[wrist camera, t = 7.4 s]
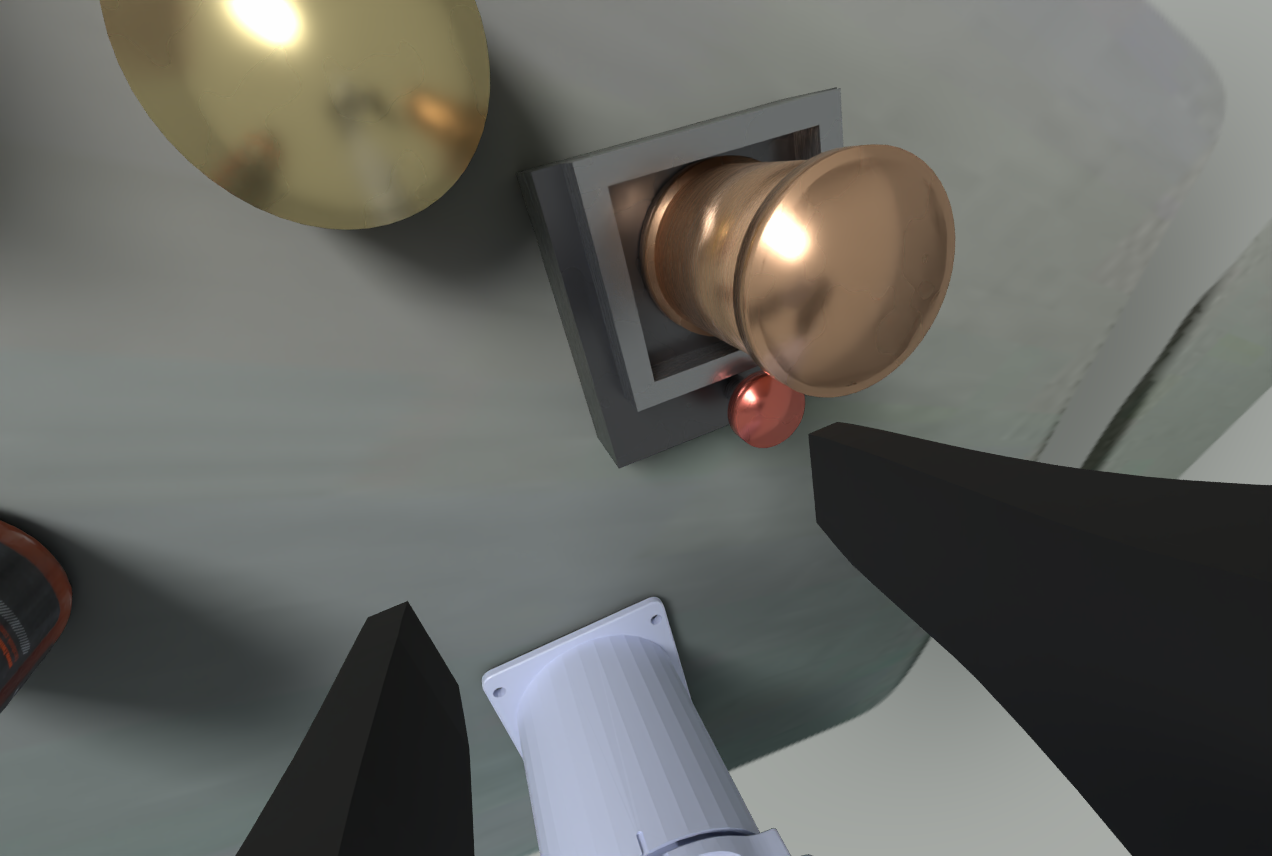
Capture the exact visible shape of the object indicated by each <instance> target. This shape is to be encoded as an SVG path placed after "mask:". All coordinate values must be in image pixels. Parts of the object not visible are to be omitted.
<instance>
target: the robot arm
mask: <svg viewBox="0 0 1272 856" xmlns="http://www.w3.org/2000/svg"><path fill="white" fill-rule="evenodd" d="M808 435H809V446H810V457H811V467H812V478H813V489H814V500H815V510H816V521H817V524H818V525H819V526H820V527H821V528H822V530H823V531H824V532H825V533H826V534H827V536H828V537H829V538H830V539H831V541H832V542H833V543H834V544H835V545H836V547H837V548H838V549H839V550H840V551H841V552H842V553H843V555H844V556H845V557H846V558H847V559H848V560H849V561H850V562H851V564H852V565H853V566H854V567H855V568H857V569H858V570H859V571H860V572H861V573H862V574H863V575H864V576H865V577H866V578H867V579H868V580H869V581H871V582H872V583H873V584H874V585H875V586H876V587H877V588H878V589H879V590H880V591H881V592H883V593H884V594H885V595H886V596H887V597H888V598H889V599H890V600H891V601H892V602H894V603H895V604H896V605H897V606H898V607H899V608H900V609H901V610H903V611H904V612H905V613H906V614H907V615H908V616H909V617H910V618H911V619H913V620H914V621H915V622H916V623H917V624H918V625H919V626H920V627H921V628H923V629H924V630H925V631H926V632H927V633H928V634H929V635H930V636H931V637H933V638H934V639H935V640H936V641H937V642H938V643H939V644H940V645H941V646H943V647H944V648H945V649H946V650H947V651H948V652H949V653H950V654H952V655H953V656H954V657H955V658H956V659H957V660H958V661H959V662H960V663H961V664H962V665H963V666H964V667H965V668H966V669H967V670H968V671H969V672H970V673H971V674H972V675H974V677H975V678H976V679H977V680H978V681H979V682H980V683H981V684H982V685H983V686H984V687H985V688H986V689H987V690H988V691H989V693H990V694H991V695H992V696H993V697H994V698H995V699H996V700H997V701H998V702H999V703H1000V704H1001V705H1002V707H1004V709H1005V710H1006V711H1007V712H1008V713H1009V714H1010V715H1011V716H1012V717H1013V718H1014V719H1015V720H1016V722H1017V723H1018V724H1019V725H1020V726H1021V727H1022V728H1023V729H1024V730H1025V731H1026V733H1027V734H1028V735H1029V736H1030V737H1031V738H1032V739H1033V740H1034V742H1035V743H1036V744H1037V745H1038V746H1039V747H1040V748H1041V750H1042V751H1043V752H1044V753H1045V754H1046V755H1047V756H1048V757H1049V759H1050V760H1051V761H1052V762H1053V763H1054V764H1055V765H1056V767H1057V768H1058V769H1059V770H1060V771H1061V772H1062V773H1063V774H1064V776H1065V777H1066V778H1067V779H1068V780H1069V781H1070V782H1071V784H1072V785H1073V786H1074V787H1075V788H1076V789H1077V790H1078V792H1079V793H1080V794H1081V795H1082V796H1083V798H1084V799H1085V800H1086V801H1087V802H1088V804H1089V805H1090V806H1091V807H1092V808H1093V810H1094V811H1095V812H1096V813H1097V814H1098V815H1099V817H1100V818H1101V819H1102V820H1103V821H1104V823H1105V824H1106V825H1107V826H1108V827H1109V829H1110V830H1111V831H1112V832H1113V833H1114V835H1115V836H1116V837H1117V838H1118V839H1119V841H1120V842H1121V843H1122V844H1123V845H1124V847H1125V848H1126V849H1127V850H1128V851H1129V853H1130V854H1131V855H1132V856H1272V485H1251V484H1237V483H1221V482H1205V481H1190V480H1178V479H1166V478H1155V477H1145V476H1136V475H1128V474H1119V473H1111V472H1102V471H1094V470H1085V469H1078V468H1072V467H1065V466H1058V465H1051V464H1046V463H1040V462H1034V461H1029V460H1023V459H1017V458H1011V457H1006V456H1000V455H995V454H990V453H985V452H980V451H975V450H970V449H965V448H961V447H956V446H951V445H947V444H942V443H938V442H933V441H929V440H924V439H920V438H915V437H911V436H906V435H902V434H897V433H893V432H888V431H884V430H879V429H874V428H869V427H864V426H859V425H854V424H848V423H841V422H836V423H834V424H831V425H829V426H827V427H824V428H822V429H819V430H817V431H815V432H812V433H810V434H808ZM655 615H657V616H656V617H655V618H652V617H653V616H655ZM482 686H483V690H484V692H485V693H486V695H487V697H488V699H489V700H490V702H491V704H492V706H493V707H494V709H495V711H496V713H497V714H498V716H499V718H500V720H501V721H502V723H503V725H504V727H505V729H506V730H507V732H508V734H509V736H510V737H511V739H512V741H513V743H514V744H515V746H516V748H517V750H518V751H519V753H520V755H521V757H522V758H523V760H524V766H525V771H526V777H527V783H528V788H529V794H530V799H531V805H532V811H533V816H534V822H535V828H536V833H537V839H538V845H539V850H540V856H791V855H790V853H789V851H788V849H787V848H786V846H785V844H784V842H783V840H782V839H781V837H780V835H779V833H778V831H777V829H775V828H771V829H769V830H767V831H765V832H761V833H760V832H759V830H758V828H757V826H756V824H755V822H754V820H753V818H752V816H751V814H750V812H749V811H748V809H747V807H746V805H745V803H744V801H743V799H742V797H741V795H740V793H739V791H738V789H737V788H736V785H735V784H734V782H733V780H732V778H731V776H730V774H729V772H728V770H727V768H726V766H725V764H724V762H723V760H722V758H721V757H720V755H719V753H718V751H717V749H716V747H715V745H714V743H713V741H712V739H711V737H710V735H709V733H708V731H707V730H706V728H705V726H704V724H703V722H702V720H701V718H700V716H699V714H698V712H697V710H696V708H695V706H694V705H693V703H692V700H691V696H690V693H689V690H688V686H687V683H686V679H685V676H684V673H683V669H682V666H681V662H680V659H679V655H678V652H677V649H676V645H675V642H674V638H673V635H672V632H671V628H670V625H669V621H668V618H667V614H666V611H665V608H664V605H663V603H662V602H661V600H660V599H659V598H658V597H650V598H647V599H645V600H643V601H641V602H639V603H636V604H634V605H632V606H630V607H628V608H625V609H623V610H621V611H619V612H617V613H614V614H612V615H610V616H608V617H606V618H603V619H601V620H599V621H597V622H595V623H592V624H590V625H588V626H586V627H584V628H581V629H579V630H577V631H575V632H573V633H570V634H568V635H566V636H564V637H562V638H559V639H557V640H555V641H553V642H551V643H548V644H546V645H544V646H542V647H540V648H537V649H535V650H533V651H531V652H529V653H526V654H524V655H522V656H520V657H518V658H515V659H513V660H511V661H509V662H507V663H504V664H502V665H500V666H498V667H496V668H493V669H491V670H489V671H488V672H486V673H485V674H484V675H483V677H482ZM501 687H502V688H501ZM497 688H501V689H499V690H496V689H497ZM236 856H474V836H473V813H472V792H471V772H470V754H469V744H468V737H467V731H466V725H465V719H464V713H463V708H462V702H461V696H460V691H459V685H458V684H457V682H456V680H455V679H454V677H453V675H452V674H451V672H450V670H449V669H448V667H447V665H446V664H445V662H444V660H443V659H442V657H441V655H440V654H439V652H438V650H437V649H436V647H435V645H434V644H433V642H432V640H431V639H430V637H429V636H428V634H427V632H426V631H425V629H424V627H423V626H422V624H421V622H420V621H419V619H418V617H417V616H416V614H415V612H414V611H413V609H412V607H411V606H410V604H409V602H408V601H406V602H404V603H402V604H399V605H397V606H394V607H392V608H390V609H387V610H385V611H382V612H380V613H378V614H375V615H373V616H370V617H368V618H367V620H366V622H365V624H364V626H363V627H362V629H361V631H360V633H359V635H358V637H357V639H356V641H355V643H354V645H353V647H352V648H351V650H350V652H349V654H348V656H347V658H346V660H345V662H344V664H343V666H342V668H341V670H340V672H339V674H338V676H337V677H336V679H335V681H334V683H333V685H332V687H331V689H330V691H329V693H328V695H327V697H326V699H325V701H324V702H323V704H322V706H321V708H320V710H319V712H318V714H317V716H316V717H315V719H314V721H313V723H312V725H311V727H310V729H309V730H308V732H307V734H306V736H305V738H304V740H303V742H302V743H301V745H300V747H299V749H298V751H297V753H296V754H295V756H294V758H293V760H292V761H291V763H290V765H289V766H288V768H287V770H286V772H285V773H284V775H283V777H282V778H281V780H280V782H279V783H278V785H277V787H276V789H275V790H274V792H273V794H272V795H271V797H270V799H269V801H268V802H267V804H266V806H265V807H264V809H263V811H262V812H261V814H260V816H259V818H258V819H257V821H256V823H255V824H254V826H253V828H252V829H251V831H250V833H249V835H248V836H247V838H246V840H245V841H244V843H243V844H242V846H241V848H240V849H239V851H238V852H237V854H236ZM803 856H812V855H809V854H808V855H803Z"/></svg>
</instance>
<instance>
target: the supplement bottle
mask: <svg viewBox="0 0 1272 856" xmlns="http://www.w3.org/2000/svg"><path fill="white" fill-rule="evenodd" d="M71 607H72V588H71V585H70V583H69V581H68V578H67V575H66V572H65V571H64V569H63V568H62V566H61V565H60V564H59V562H58V561H57V560H56V558H55V557H54V556H53V555H52V554H51V553H50V552H49V551H48V550H47V549H46V548H45V547H44V546H43V545H42V544H41V543H40V542H39V541H37V540H36V539H35V538H33V537H32V536H30V535H28V534H27V533H25V532H23V531H22V530H20V529H18V528H16V527H14V526H12V525H9V524H7V523H5V522H3V521H1V520H0V713H1V712H2V711H3V710H4V709H5V707H6V706H7V705H8V704H9V702H10V701H11V699H12V698H13V697H14V696H15V694H16V693H17V692H18V691H19V690H20V688H21V687H22V685H23V684H24V683H25V682H26V681H27V679H28V678H29V677H30V675H31V674H32V673H33V671H34V670H35V669H36V668H37V666H38V665H39V664H40V663H41V661H42V660H43V659H44V658H45V656H46V655H47V653H48V652H49V651H50V649H51V648H52V646H53V644H54V643H55V641H56V640H57V639H58V637H59V636H60V635H61V633H62V632H63V630H64V628H65V626H66V624H67V621H68V619H69V616H70V612H71Z"/></svg>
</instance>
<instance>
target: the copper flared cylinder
mask: <svg viewBox="0 0 1272 856" xmlns="http://www.w3.org/2000/svg"><path fill="white" fill-rule="evenodd" d="M954 254H955V228H954V219H953V214H952V209H951V205H950V202H949V199H948V196H947V194H946V192H945V190H944V188H943V186H942V184H941V182H940V180H939V179H938V177H937V176H936V174H935V173H934V172H933V170H932V169H931V168H930V167H929V166H928V165H927V164H926V163H925V162H924V161H923V160H921V159H920V158H918V157H917V156H915V155H914V154H912V153H910V152H908V151H906V150H903V149H901V148H898V147H893V146H889V145H859V146H848V147H841V148H835V149H832V150H829V151H825V152H822V153H820V154H818V155H816V156H814V157H812V158H810V159H808V160H795V161H774V162H761V161H758V160H756V159H753V158H750V157H745V156H737V155H727V156H716V157H709V158H705V159H702V160H699V161H696V162H694V163H692V164H690V165H688V166H686V167H685V168H683V169H682V170H680V171H679V172H678V173H676V174H675V175H674V176H673V177H672V178H671V179H670V180H669V181H668V182H667V183H666V184H665V185H664V186H663V187H662V189H661V190H660V191H659V193H658V194H657V196H656V197H655V199H654V201H653V203H652V204H651V206H650V208H649V210H648V213H647V216H646V218H645V221H644V225H643V229H642V233H641V239H640V266H641V272H642V276H643V281H644V283H645V286H646V289H647V291H648V293H649V295H650V297H651V299H652V300H653V302H654V303H655V305H656V306H657V307H658V309H659V310H660V311H661V312H662V313H663V314H664V315H665V316H666V317H668V318H669V319H670V320H672V321H673V322H675V323H676V324H678V325H680V326H682V327H684V328H685V329H687V330H689V331H691V332H694V333H697V334H700V335H705V336H715V337H717V338H719V339H720V340H722V341H724V342H726V343H728V344H730V345H732V346H734V347H735V348H737V349H739V350H741V351H743V352H745V353H747V354H748V355H750V356H751V358H752V359H753V361H754V362H755V363H756V364H757V365H758V366H759V367H760V368H761V369H762V370H763V371H764V372H765V373H767V374H768V375H769V376H770V377H772V378H774V379H776V380H777V381H779V382H781V383H783V384H784V385H786V386H788V387H790V388H792V389H793V390H795V391H797V392H800V393H803V394H806V395H809V396H815V397H839V396H845V395H848V394H852V393H856V392H858V391H861V390H863V389H865V388H868V387H870V386H872V385H873V384H875V383H877V382H879V381H880V380H882V379H883V378H885V377H886V376H887V375H889V374H890V373H892V372H893V371H894V370H895V369H896V368H897V367H898V366H900V365H901V364H902V363H903V362H904V361H905V360H906V359H907V358H908V357H909V356H910V354H911V353H912V352H913V351H914V350H915V349H916V347H917V346H918V345H919V343H920V342H921V341H922V340H923V338H924V336H925V335H926V333H927V332H928V330H929V329H930V327H931V325H932V324H933V322H934V320H935V318H936V316H937V314H938V312H939V310H940V307H941V305H942V303H943V300H944V298H945V295H946V292H947V289H948V286H949V282H950V278H951V273H952V269H953V262H954Z"/></svg>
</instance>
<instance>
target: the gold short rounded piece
mask: <svg viewBox="0 0 1272 856" xmlns="http://www.w3.org/2000/svg"><path fill="white" fill-rule="evenodd" d="M100 4H101V8H102V13H103V17H104V21H105V25H106V30H107V34H108V36H109V39H110V42H111V45H112V47H113V50H114V53H115V55H116V58H117V61H118V63H119V65H120V67H121V69H122V71H123V73H124V75H125V77H126V79H127V81H128V83H129V85H130V87H131V89H132V91H133V92H134V94H135V95H136V97H137V99H138V100H139V102H140V103H141V105H142V106H143V108H144V110H145V111H146V113H147V114H148V116H149V117H150V118H151V119H152V121H153V122H154V123H155V124H156V126H157V127H158V128H159V129H160V131H161V132H162V133H163V135H164V136H165V137H166V138H167V139H168V141H169V142H170V143H171V144H172V145H173V146H174V147H175V148H176V149H177V150H178V151H179V152H180V153H181V154H182V155H183V156H184V157H185V158H186V159H187V160H188V161H189V162H190V163H192V164H193V165H194V166H195V167H196V168H197V169H199V170H200V171H201V172H202V173H203V174H205V175H206V176H207V177H208V178H209V179H211V180H212V181H214V182H215V183H217V184H218V185H219V186H221V187H222V188H224V189H225V190H227V191H228V192H230V193H231V194H233V195H234V196H236V197H238V198H240V199H242V200H243V201H245V202H247V203H249V204H251V205H253V206H254V207H256V208H259V209H261V210H263V211H266V212H268V213H271V214H273V215H275V216H278V217H280V218H284V219H287V220H290V221H294V222H297V223H300V224H304V225H310V226H315V227H321V228H328V229H345V230H351V229H366V228H373V227H378V226H383V225H388V224H392V223H394V222H397V221H400V220H403V219H406V218H408V217H410V216H412V215H414V214H416V213H418V212H420V211H422V210H424V209H426V208H427V207H428V206H430V205H431V204H432V203H434V202H435V201H437V200H438V199H439V198H441V197H442V196H443V195H444V194H445V193H446V192H447V191H448V190H449V189H450V188H451V187H452V186H453V185H454V184H455V183H456V181H457V180H458V179H459V177H460V176H461V175H462V173H463V172H464V171H465V169H466V168H467V166H468V164H469V162H470V160H471V159H472V157H473V155H474V153H475V151H476V149H477V146H478V143H479V141H480V138H481V136H482V133H483V129H484V125H485V121H486V116H487V112H488V104H489V94H490V64H489V56H488V49H487V41H486V37H485V33H484V29H483V25H482V20H481V16H480V13H479V11H478V8H477V5H476V2H475V0H100Z"/></svg>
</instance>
